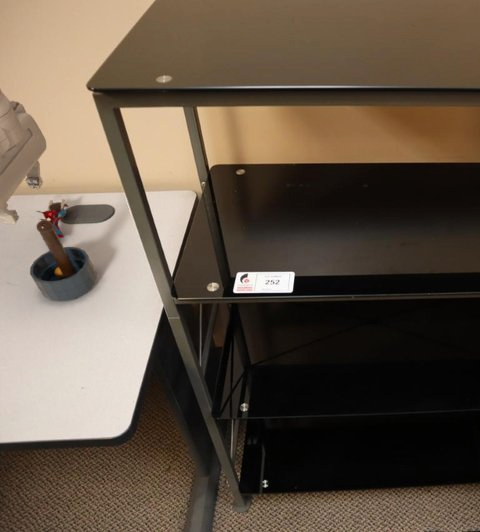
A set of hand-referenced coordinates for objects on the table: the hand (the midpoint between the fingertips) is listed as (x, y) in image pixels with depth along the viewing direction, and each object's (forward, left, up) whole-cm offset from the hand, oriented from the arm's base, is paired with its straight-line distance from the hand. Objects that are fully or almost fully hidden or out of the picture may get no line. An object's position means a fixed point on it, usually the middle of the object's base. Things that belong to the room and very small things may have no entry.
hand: (25, 203), depth 85 cm
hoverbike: (-8, +16, -20) cm, 27 cm away
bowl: (0, 0, -20) cm, 20 cm away
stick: (+1, 0, -19) cm, 19 cm away
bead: (-1, +1, -18) cm, 18 cm away
